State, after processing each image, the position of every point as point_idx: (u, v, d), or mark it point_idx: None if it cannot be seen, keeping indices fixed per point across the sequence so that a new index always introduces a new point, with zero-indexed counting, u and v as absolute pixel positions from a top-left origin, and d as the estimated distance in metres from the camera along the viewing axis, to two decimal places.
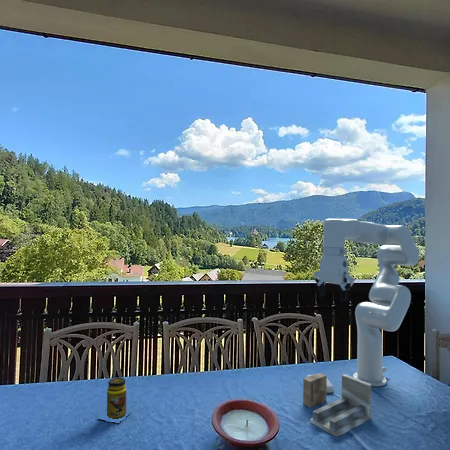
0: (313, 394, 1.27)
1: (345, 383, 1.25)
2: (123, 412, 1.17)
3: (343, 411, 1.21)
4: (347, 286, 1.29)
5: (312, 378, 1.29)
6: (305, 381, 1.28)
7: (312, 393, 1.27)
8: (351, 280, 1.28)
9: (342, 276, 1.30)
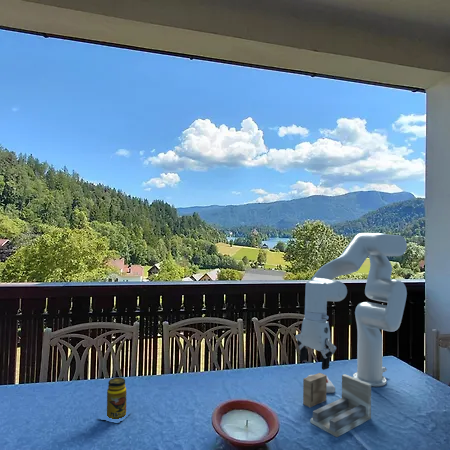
0: (313, 394, 1.27)
1: (345, 383, 1.25)
2: (123, 412, 1.17)
3: (343, 411, 1.21)
4: (328, 354, 1.24)
5: (312, 378, 1.29)
6: (305, 381, 1.28)
7: (312, 393, 1.27)
8: (332, 348, 1.23)
9: (323, 343, 1.25)
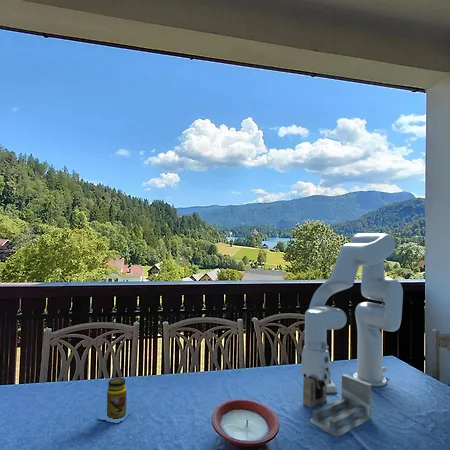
0: (313, 394, 1.27)
1: (345, 383, 1.25)
2: (123, 412, 1.17)
3: (343, 411, 1.21)
4: (321, 385, 1.27)
5: (312, 378, 1.29)
6: (305, 381, 1.28)
7: (312, 393, 1.27)
8: (327, 383, 1.25)
9: (324, 373, 1.25)
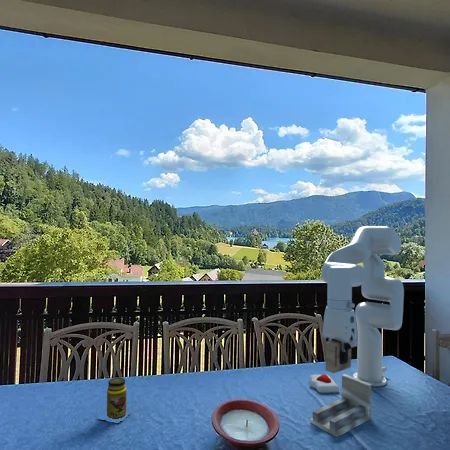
0: (337, 359, 1.15)
1: (345, 383, 1.25)
2: (123, 412, 1.17)
3: (343, 411, 1.21)
4: (347, 347, 1.14)
5: (336, 341, 1.16)
6: (328, 344, 1.15)
7: (336, 357, 1.15)
8: (353, 345, 1.13)
9: (349, 334, 1.13)
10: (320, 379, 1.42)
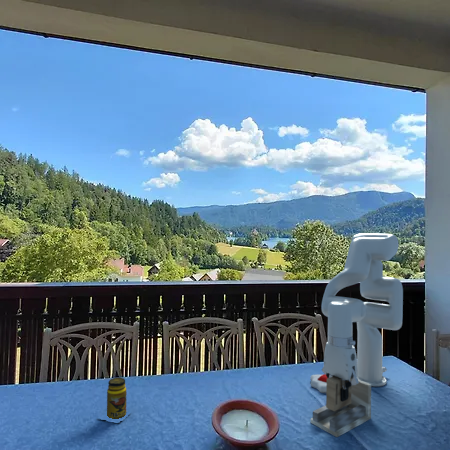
0: (338, 396, 1.15)
1: None
2: (123, 412, 1.17)
3: (343, 411, 1.21)
4: (347, 385, 1.14)
5: (336, 378, 1.16)
6: (329, 381, 1.15)
7: (336, 395, 1.14)
8: (354, 383, 1.12)
9: (350, 372, 1.13)
10: (321, 379, 1.42)
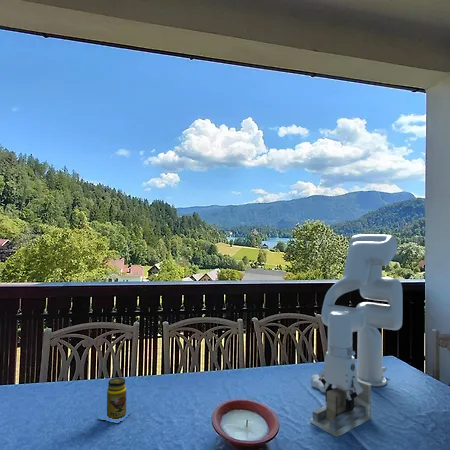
0: (338, 409, 1.15)
1: None
2: (123, 412, 1.17)
3: None
4: (353, 396, 1.12)
5: (336, 391, 1.16)
6: (329, 394, 1.15)
7: (337, 408, 1.14)
8: (359, 391, 1.11)
9: (350, 382, 1.13)
10: None
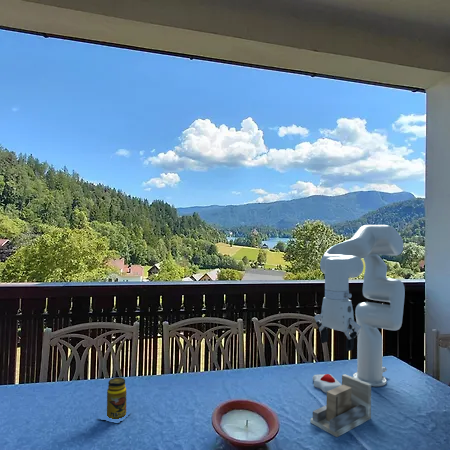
0: (338, 409, 1.15)
1: (345, 383, 1.25)
2: (123, 412, 1.17)
3: None
4: (353, 335, 1.15)
5: (336, 391, 1.16)
6: (329, 394, 1.15)
7: (337, 408, 1.14)
8: (357, 328, 1.14)
9: (347, 323, 1.16)
10: (324, 379, 1.42)
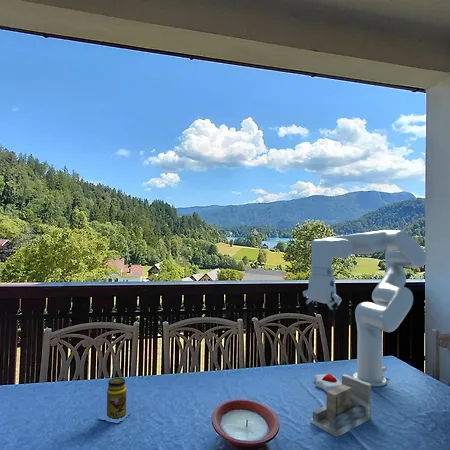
0: (338, 409, 1.15)
1: (345, 383, 1.25)
2: (123, 412, 1.17)
3: None
4: (334, 305, 1.32)
5: (336, 391, 1.16)
6: (329, 394, 1.15)
7: (337, 408, 1.14)
8: (338, 300, 1.31)
9: (329, 296, 1.33)
10: (326, 379, 1.42)
